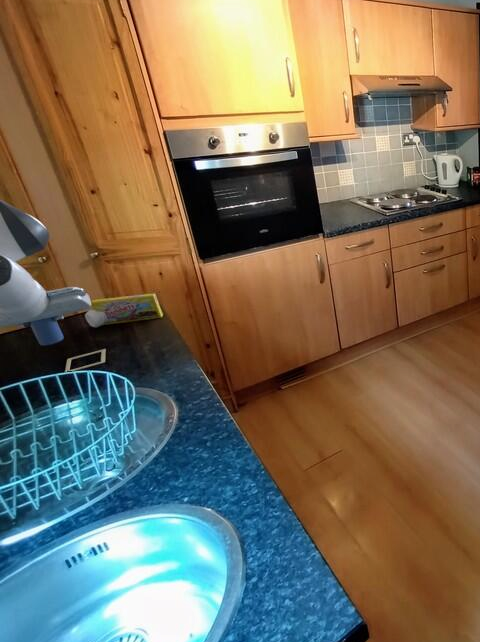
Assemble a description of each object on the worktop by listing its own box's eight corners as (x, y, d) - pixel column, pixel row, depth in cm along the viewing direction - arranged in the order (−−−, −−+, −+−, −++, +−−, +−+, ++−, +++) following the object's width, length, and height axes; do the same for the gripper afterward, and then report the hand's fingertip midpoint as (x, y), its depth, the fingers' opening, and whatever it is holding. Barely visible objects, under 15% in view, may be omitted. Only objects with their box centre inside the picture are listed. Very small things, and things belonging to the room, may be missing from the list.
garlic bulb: (120, 320, 142) (114, 305, 139) (98, 329, 137) (91, 314, 134) (110, 317, 144) (104, 302, 141) (88, 326, 139) (81, 310, 136)
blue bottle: (38, 347, 109) (17, 305, 104) (40, 339, 112) (20, 298, 107) (62, 341, 111) (43, 299, 107) (64, 334, 115) (46, 293, 110)
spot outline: (65, 373, 117) (64, 372, 117) (67, 359, 123) (67, 358, 123) (104, 362, 122) (104, 361, 122) (105, 349, 127) (105, 348, 127)
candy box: (99, 326, 139) (89, 302, 136) (103, 322, 141) (93, 299, 137) (161, 318, 144) (153, 295, 140) (163, 315, 145) (155, 292, 142)
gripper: (79, 275, 106) (95, 297, 117) (-52, 299, 94) (-20, 321, 105) (84, 299, 104) (101, 319, 115) (-47, 326, 93) (-15, 346, 104)
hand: (43, 320), depth 110 cm, fingers closed on blue bottle, 4 cm apart
